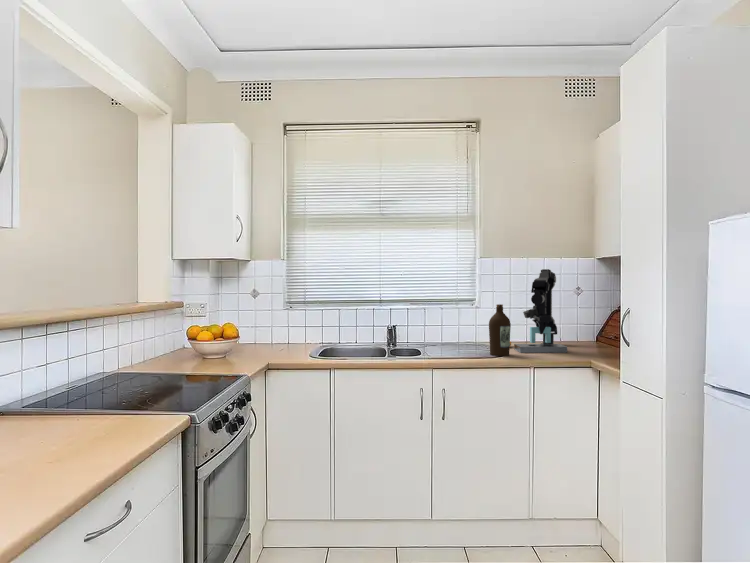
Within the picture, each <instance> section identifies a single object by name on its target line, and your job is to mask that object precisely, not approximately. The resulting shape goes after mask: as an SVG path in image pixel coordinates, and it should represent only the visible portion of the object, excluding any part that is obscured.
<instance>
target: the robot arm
mask: <svg viewBox="0 0 750 563" xmlns="http://www.w3.org/2000/svg"><path fill="white" fill-rule="evenodd" d="M538 275H539V276H538V277H537V278H534V280H533V281H532V284H531V293H532V296H531V298H530V300H531V303H532V304H533V306H532V308H531V309H530V308H529V309H527V310H525V311H523V312H522V313H523V316H524V318H525V319H531V320H532V322H534V323H535V325H536V326H535V327H539V330H540V333H538V334H540V335H542V343H540V344H555V342H554V341H555V340H554V337H555V335H558V327H557V324H556V321H555V318H554V317H553V289H554V287H555V285H556V283H557V275H556V273H554V272H553V271H552V270H551V269H547V268H546V269H540V273H539V274H538ZM546 327H551V343H546V342H545V333H543V332H544V330H545V328H546Z"/></svg>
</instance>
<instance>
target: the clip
mask: <svg viewBox="0 0 750 563" xmlns="http://www.w3.org/2000/svg"><path fill="white" fill-rule="evenodd" d="M539 333H540V330H539V327H536V326H530V327H529V343H530V344H536V334H539ZM543 333H545V342H546V343H551V327H546V328H545V330H544V332H543Z"/></svg>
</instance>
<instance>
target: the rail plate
mask: <svg viewBox="0 0 750 563" xmlns="http://www.w3.org/2000/svg"><path fill="white" fill-rule="evenodd" d="M513 349H514V350H515V351H517V352H518V353H521V354H540V353H541V354H548V353H549V354H550V353H552V354H553V353H555V354H556V353H557V354H559V353H560V354H561V353H562V354H563V353H565V354H566V353H567V354H568V346H566V345H564V344H561V343H554V344H541V343H513Z"/></svg>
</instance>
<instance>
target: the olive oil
mask: <svg viewBox="0 0 750 563" xmlns="http://www.w3.org/2000/svg"><path fill="white" fill-rule="evenodd" d="M495 306H496V308H495V310H496V312H495V313H494V314H493V315H492V316H491V317H490V319H489V321H488V333H489V334H488V335H489V336H488V337H489V355H490V356H495V357H506V356H507V357H508V356H510V348H511V346H510V342H511V320H510V318H509V316H507V315H506V313H504V304H500V303H499V304H496V305H495Z"/></svg>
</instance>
